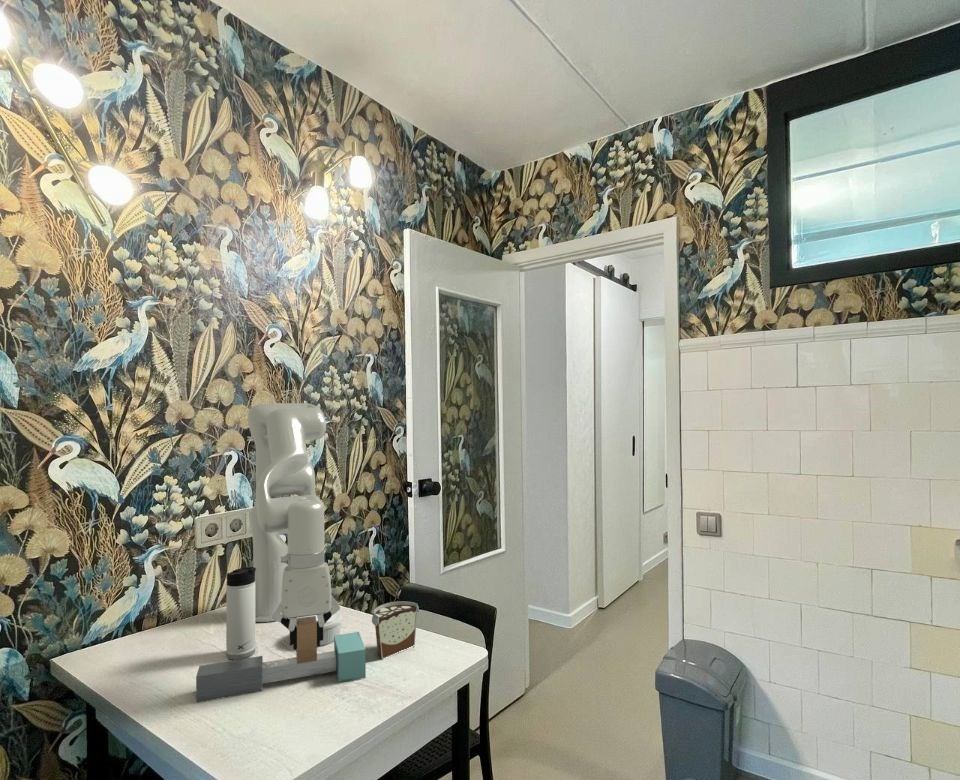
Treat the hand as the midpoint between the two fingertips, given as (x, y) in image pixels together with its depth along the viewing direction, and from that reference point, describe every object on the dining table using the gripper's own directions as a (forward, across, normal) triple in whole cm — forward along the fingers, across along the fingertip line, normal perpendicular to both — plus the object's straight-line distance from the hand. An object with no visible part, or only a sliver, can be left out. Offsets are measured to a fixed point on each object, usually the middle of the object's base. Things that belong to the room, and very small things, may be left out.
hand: (306, 645), depth 117 cm
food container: (+7, +20, +7) cm, 22 cm away
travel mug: (+7, -14, +18) cm, 23 cm away
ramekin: (+7, +4, +20) cm, 21 cm away
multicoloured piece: (+6, -4, 0) cm, 7 cm away
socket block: (+7, +9, 0) cm, 11 cm away
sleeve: (+7, -15, 0) cm, 16 cm away
